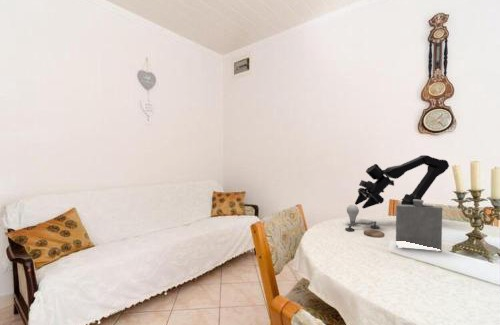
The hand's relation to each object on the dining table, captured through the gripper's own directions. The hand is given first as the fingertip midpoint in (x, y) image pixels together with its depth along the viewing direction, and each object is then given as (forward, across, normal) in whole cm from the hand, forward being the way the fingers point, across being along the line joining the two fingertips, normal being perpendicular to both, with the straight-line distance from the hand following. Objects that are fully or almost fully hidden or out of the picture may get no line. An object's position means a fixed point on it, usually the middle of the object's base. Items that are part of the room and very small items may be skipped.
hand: (358, 206), depth 135 cm
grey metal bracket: (+8, +8, +6) cm, 13 cm away
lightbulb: (+10, 0, +5) cm, 11 cm away
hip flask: (0, +33, +14) cm, 36 cm away
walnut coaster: (+7, +16, +8) cm, 19 cm away
